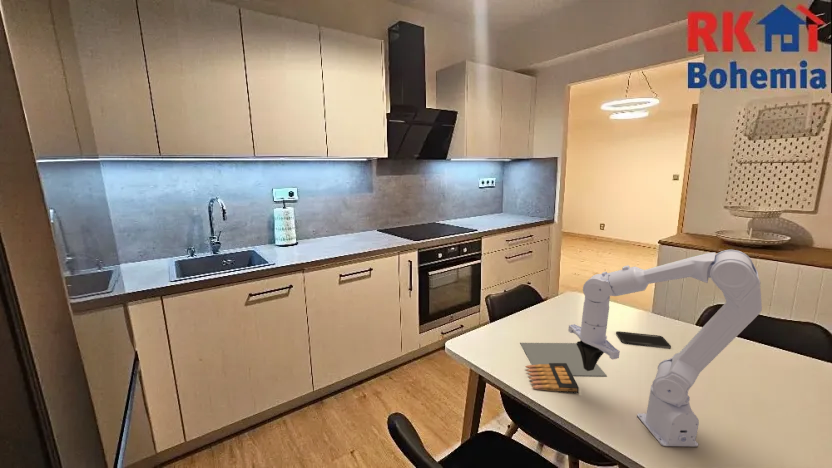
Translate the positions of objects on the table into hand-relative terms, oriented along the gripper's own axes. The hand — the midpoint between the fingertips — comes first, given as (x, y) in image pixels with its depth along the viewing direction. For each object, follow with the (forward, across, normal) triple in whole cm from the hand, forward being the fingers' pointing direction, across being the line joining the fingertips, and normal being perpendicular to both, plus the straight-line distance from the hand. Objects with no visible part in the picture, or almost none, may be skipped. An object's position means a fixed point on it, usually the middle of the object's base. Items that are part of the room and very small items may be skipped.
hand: (588, 369), depth 90 cm
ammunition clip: (+7, +6, -1) cm, 9 cm away
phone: (+8, +16, -41) cm, 45 cm away
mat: (+8, +16, -6) cm, 19 cm away
